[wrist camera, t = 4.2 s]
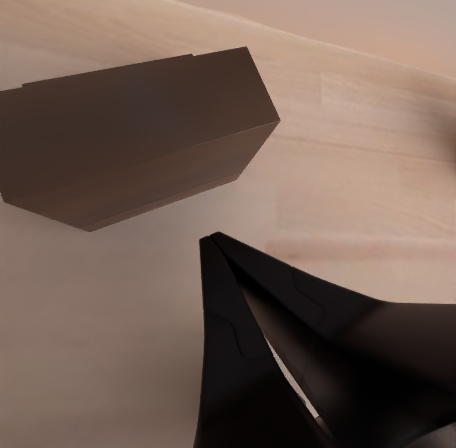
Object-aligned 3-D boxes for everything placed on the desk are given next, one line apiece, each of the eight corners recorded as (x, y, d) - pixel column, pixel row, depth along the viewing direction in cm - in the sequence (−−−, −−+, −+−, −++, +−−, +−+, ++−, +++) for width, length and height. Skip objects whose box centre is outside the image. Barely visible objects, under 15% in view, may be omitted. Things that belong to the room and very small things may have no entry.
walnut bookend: (236, 179, 23) (281, 120, 13) (89, 232, 19) (3, 202, 10) (190, 74, 24) (201, -54, 14) (39, 105, 20) (-87, -41, 10)
